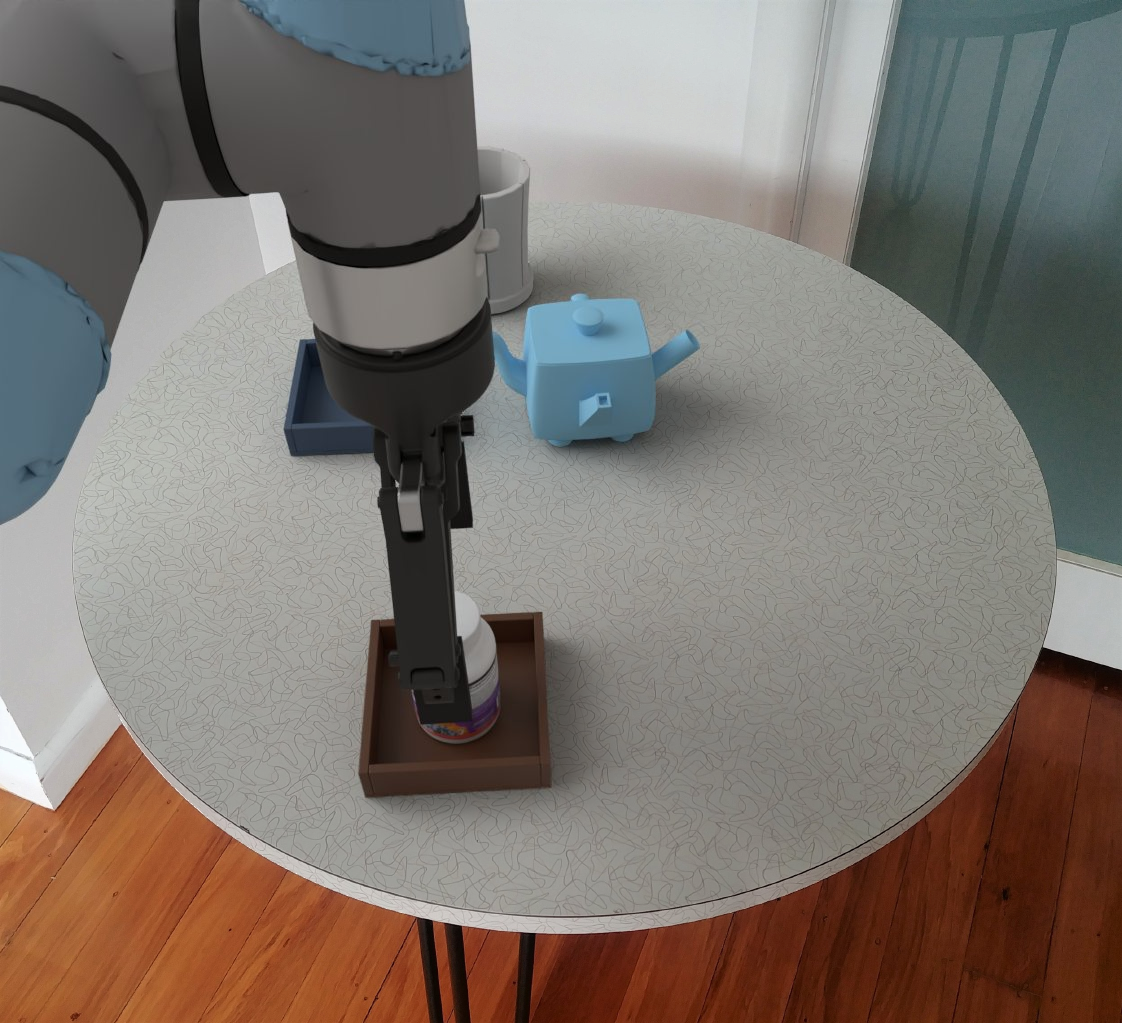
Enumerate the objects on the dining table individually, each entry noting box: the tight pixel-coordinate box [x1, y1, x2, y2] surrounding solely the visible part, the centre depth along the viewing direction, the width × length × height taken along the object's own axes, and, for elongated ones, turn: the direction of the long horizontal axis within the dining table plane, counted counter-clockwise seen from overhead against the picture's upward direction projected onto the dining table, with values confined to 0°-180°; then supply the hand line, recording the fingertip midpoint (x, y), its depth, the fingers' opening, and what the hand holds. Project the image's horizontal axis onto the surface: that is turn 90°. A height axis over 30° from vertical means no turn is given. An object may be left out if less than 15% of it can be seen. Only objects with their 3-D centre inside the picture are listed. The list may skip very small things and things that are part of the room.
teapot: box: [492, 293, 701, 448], centre depth 83 cm, size 18×14×10 cm
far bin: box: [283, 338, 374, 457], centre depth 87 cm, size 11×11×3 cm
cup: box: [477, 145, 534, 316], centre depth 94 cm, size 10×9×12 cm
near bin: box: [357, 611, 552, 799], centre depth 66 cm, size 11×11×3 cm
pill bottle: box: [411, 590, 500, 744], centre depth 64 cm, size 5×5×10 cm
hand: (448, 613), depth 60 cm, fingers open, 13 cm apart
